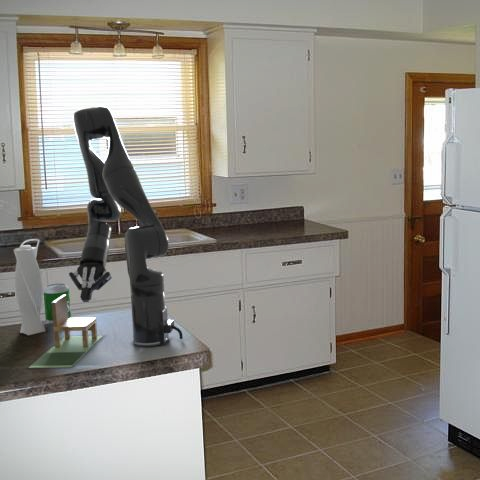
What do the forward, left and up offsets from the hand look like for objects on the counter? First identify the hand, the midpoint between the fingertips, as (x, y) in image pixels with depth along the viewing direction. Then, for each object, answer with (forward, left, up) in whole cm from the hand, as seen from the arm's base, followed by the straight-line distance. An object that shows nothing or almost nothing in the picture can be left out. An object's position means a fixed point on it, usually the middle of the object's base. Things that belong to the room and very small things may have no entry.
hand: (85, 300), depth 215 cm
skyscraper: (+17, -2, -10) cm, 20 cm away
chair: (0, +10, -10) cm, 14 cm away
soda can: (+13, -12, -10) cm, 20 cm away
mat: (0, +17, -10) cm, 20 cm away
